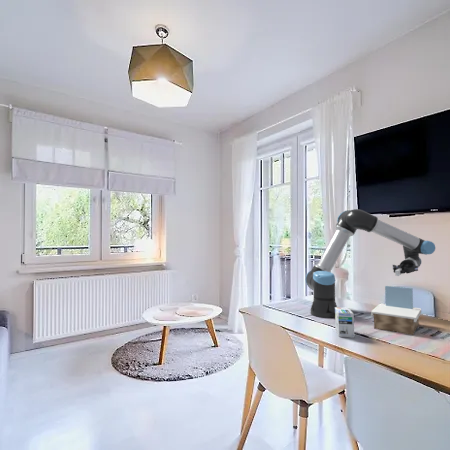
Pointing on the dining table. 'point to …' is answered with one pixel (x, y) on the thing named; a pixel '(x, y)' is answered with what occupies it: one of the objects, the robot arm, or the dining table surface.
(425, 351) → the dining table surface
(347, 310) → the light bulb box
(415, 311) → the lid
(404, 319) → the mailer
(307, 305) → the dining table surface
